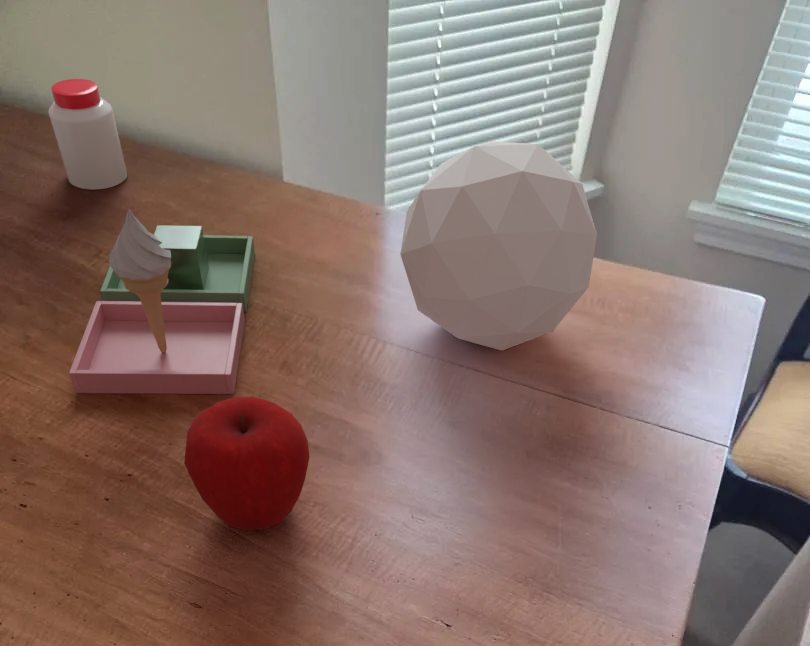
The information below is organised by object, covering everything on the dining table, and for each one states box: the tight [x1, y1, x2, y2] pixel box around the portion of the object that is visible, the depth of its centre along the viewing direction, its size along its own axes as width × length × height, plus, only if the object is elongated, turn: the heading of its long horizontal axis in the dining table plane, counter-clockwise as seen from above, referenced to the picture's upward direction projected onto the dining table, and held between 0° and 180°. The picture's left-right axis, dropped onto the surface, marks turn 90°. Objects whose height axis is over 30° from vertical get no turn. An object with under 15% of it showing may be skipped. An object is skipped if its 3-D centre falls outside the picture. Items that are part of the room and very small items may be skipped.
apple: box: [183, 395, 310, 531], centre depth 60 cm, size 10×10×11 cm
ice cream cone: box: [108, 208, 171, 353], centre depth 71 cm, size 6×6×15 cm
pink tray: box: [68, 300, 246, 395], centre depth 76 cm, size 15×12×2 cm
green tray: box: [100, 233, 256, 313], centre depth 85 cm, size 15×12×2 cm
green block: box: [153, 224, 209, 290], centre depth 84 cm, size 5×5×5 cm
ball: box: [399, 140, 598, 351], centre depth 76 cm, size 19×20×20 cm
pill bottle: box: [48, 78, 128, 191], centre depth 97 cm, size 8×8×11 cm
